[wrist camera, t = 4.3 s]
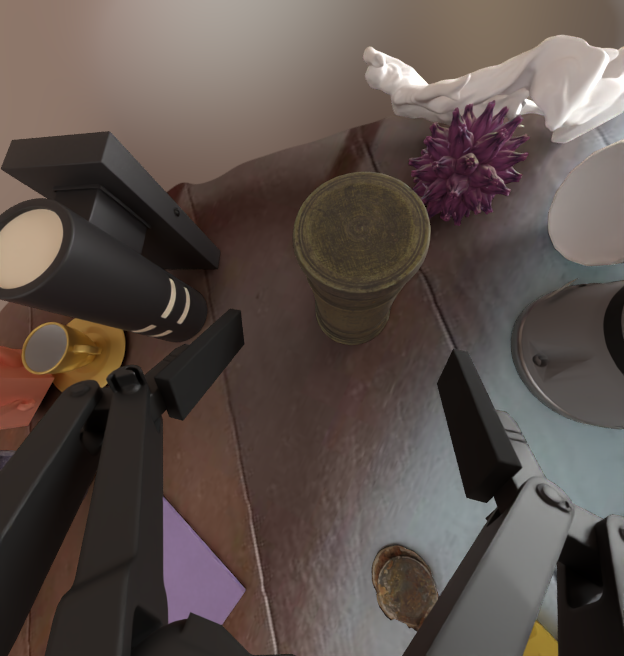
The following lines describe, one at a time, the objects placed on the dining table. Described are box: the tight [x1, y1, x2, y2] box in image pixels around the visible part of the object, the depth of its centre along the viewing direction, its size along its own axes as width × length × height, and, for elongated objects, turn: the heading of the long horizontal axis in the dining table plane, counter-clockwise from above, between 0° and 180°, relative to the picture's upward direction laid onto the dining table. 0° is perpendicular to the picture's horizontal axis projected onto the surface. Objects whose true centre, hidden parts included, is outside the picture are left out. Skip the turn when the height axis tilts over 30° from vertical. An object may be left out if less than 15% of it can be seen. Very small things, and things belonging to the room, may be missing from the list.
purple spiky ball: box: [408, 100, 530, 226], centre depth 28 cm, size 12×12×12 cm
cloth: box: [163, 497, 246, 625], centre depth 27 cm, size 14×14×1 cm
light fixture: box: [0, 131, 220, 342], centre depth 27 cm, size 10×14×18 cm
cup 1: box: [21, 318, 125, 392], centre depth 33 cm, size 12×12×5 cm
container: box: [293, 172, 431, 345], centre depth 23 cm, size 9×9×18 cm
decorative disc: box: [372, 545, 439, 632], centre depth 25 cm, size 7×6×1 cm
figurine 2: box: [363, 35, 624, 143], centre depth 30 cm, size 14×12×30 cm
